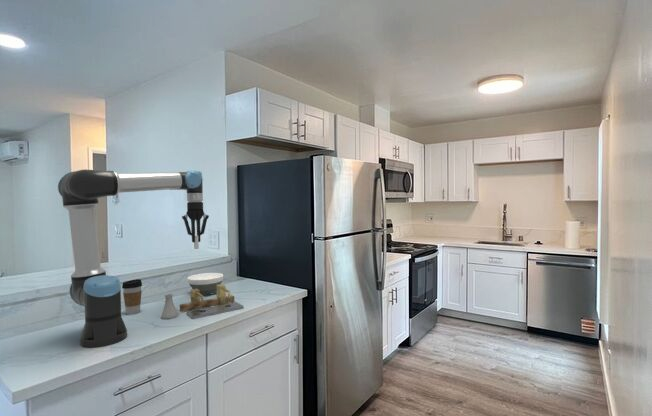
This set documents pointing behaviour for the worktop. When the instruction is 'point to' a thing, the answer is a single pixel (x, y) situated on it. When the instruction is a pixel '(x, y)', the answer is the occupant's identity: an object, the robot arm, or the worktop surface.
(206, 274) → the bowl
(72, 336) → the worktop surface
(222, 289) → the slider leg
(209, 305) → the rail
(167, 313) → the flask
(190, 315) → the hole plate
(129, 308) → the coffee cup
